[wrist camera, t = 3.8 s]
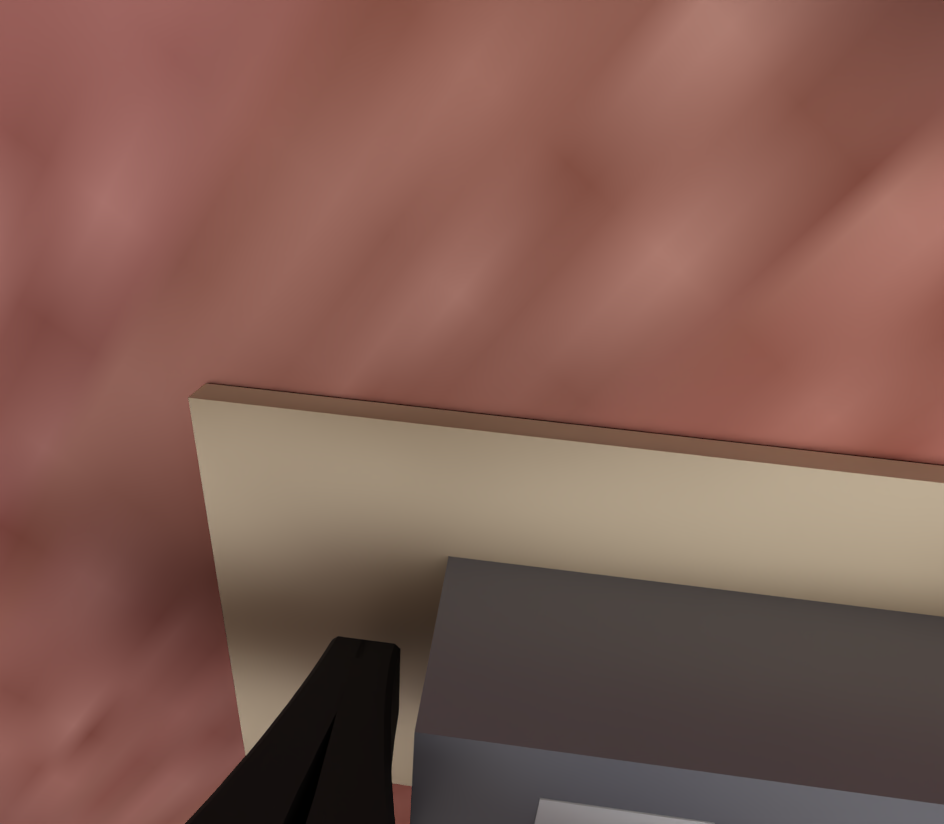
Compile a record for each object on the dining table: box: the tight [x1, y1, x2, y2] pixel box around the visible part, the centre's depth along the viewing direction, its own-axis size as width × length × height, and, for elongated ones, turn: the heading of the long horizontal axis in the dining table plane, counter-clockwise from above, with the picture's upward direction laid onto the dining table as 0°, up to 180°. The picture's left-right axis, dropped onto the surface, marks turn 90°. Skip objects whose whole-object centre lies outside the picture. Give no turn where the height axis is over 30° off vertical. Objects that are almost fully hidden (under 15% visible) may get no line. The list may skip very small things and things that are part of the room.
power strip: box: [410, 556, 944, 824], centre depth 10 cm, size 4×14×4 cm, turn 86°
